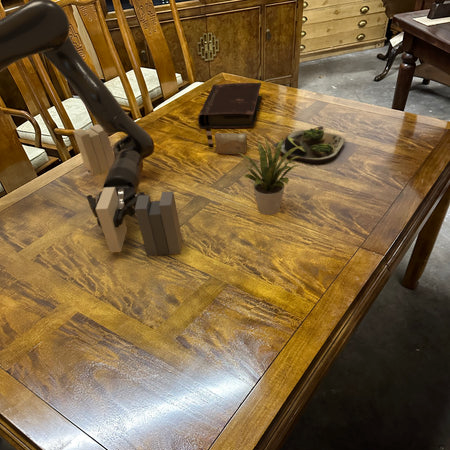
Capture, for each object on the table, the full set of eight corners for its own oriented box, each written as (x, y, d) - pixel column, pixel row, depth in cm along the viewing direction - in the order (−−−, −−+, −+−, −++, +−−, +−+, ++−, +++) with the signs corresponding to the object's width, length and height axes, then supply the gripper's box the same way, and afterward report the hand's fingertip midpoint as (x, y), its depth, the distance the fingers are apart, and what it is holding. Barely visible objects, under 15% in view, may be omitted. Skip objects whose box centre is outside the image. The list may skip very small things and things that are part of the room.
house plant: (316, 207, 99) (323, 141, 87) (278, 235, 93) (279, 167, 81) (271, 187, 107) (271, 124, 95) (232, 211, 100) (228, 147, 89)
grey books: (180, 253, 91) (170, 204, 82) (147, 255, 91) (133, 207, 82) (182, 239, 94) (173, 191, 85) (150, 241, 95) (137, 193, 86)
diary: (198, 129, 134) (196, 113, 130) (212, 98, 151) (210, 83, 147) (256, 128, 131) (255, 112, 127) (263, 97, 148) (263, 82, 144)
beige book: (121, 251, 90) (107, 208, 82) (110, 252, 90) (95, 209, 83) (127, 229, 96) (114, 186, 88) (116, 229, 96) (103, 187, 88)
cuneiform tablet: (209, 147, 125) (249, 146, 123) (206, 157, 122) (247, 156, 120) (205, 126, 119) (247, 125, 117) (203, 136, 116) (245, 135, 114)
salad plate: (296, 128, 129) (296, 113, 126) (352, 137, 122) (355, 122, 119) (267, 156, 118) (267, 140, 115) (328, 168, 111) (329, 152, 108)
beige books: (86, 170, 121) (72, 131, 112) (108, 161, 123) (97, 122, 115) (93, 176, 118) (80, 136, 109) (117, 166, 121) (105, 127, 112)
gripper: (89, 168, 96) (69, 210, 84) (149, 164, 95) (137, 207, 83) (98, 196, 101) (81, 240, 89) (155, 193, 101) (145, 237, 89)
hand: (108, 224), depth 86 cm, fingers closed on beige book, 2 cm apart
